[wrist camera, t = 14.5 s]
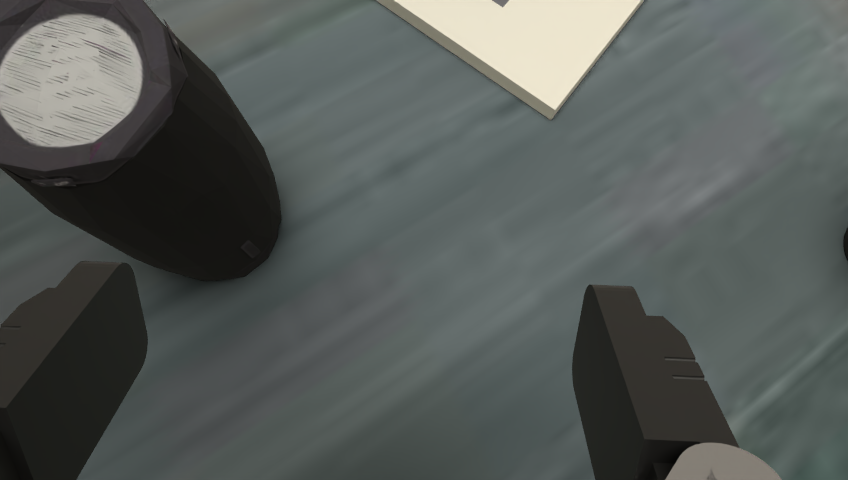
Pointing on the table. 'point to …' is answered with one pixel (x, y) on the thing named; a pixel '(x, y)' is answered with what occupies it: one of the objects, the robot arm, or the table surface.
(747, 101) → the table surface
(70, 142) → the portable speaker
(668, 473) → the robot arm
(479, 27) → the letter board
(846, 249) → the drinking cup
